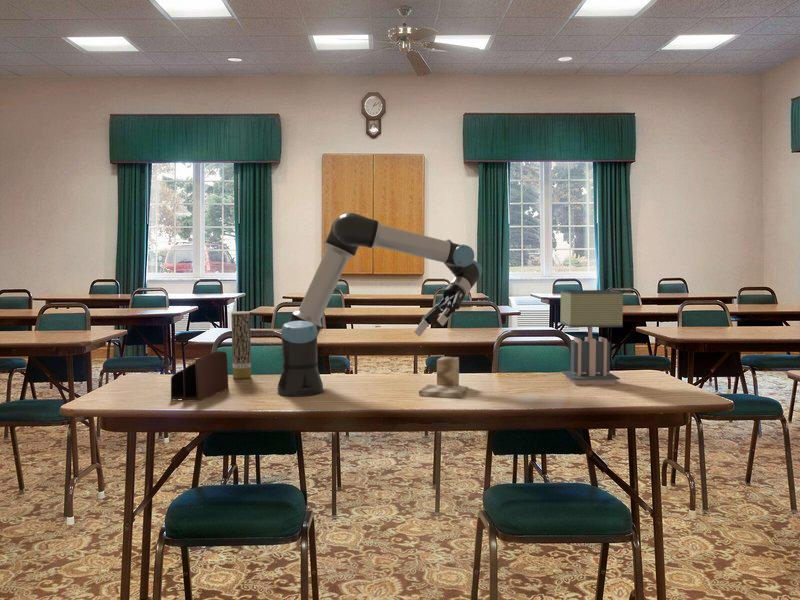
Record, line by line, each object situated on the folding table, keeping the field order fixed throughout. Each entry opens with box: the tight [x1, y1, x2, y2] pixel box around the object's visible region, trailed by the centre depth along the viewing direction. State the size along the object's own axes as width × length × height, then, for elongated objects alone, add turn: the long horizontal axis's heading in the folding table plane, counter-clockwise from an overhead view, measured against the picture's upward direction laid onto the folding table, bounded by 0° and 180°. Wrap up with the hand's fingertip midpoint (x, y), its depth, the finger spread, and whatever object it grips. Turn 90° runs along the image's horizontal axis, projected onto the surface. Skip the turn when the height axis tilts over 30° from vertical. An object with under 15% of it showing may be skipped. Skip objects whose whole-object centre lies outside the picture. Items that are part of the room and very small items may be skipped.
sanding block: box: [436, 356, 460, 386], centre depth 216 cm, size 6×8×10 cm
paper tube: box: [230, 310, 252, 380], centre depth 235 cm, size 7×7×25 cm
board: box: [418, 384, 469, 399], centre depth 206 cm, size 14×11×2 cm
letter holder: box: [170, 351, 229, 401], centre depth 207 cm, size 10×20×14 cm, turn 167°
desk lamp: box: [559, 289, 624, 386], centre depth 224 cm, size 18×14×33 cm
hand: (428, 328), depth 214 cm, fingers open, 13 cm apart
